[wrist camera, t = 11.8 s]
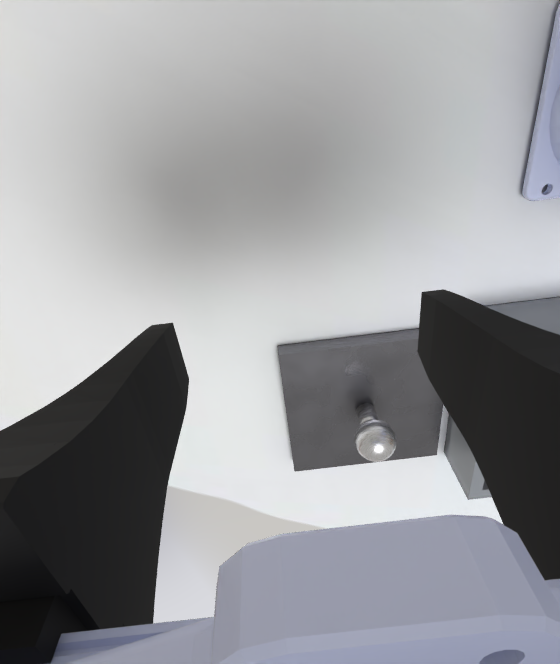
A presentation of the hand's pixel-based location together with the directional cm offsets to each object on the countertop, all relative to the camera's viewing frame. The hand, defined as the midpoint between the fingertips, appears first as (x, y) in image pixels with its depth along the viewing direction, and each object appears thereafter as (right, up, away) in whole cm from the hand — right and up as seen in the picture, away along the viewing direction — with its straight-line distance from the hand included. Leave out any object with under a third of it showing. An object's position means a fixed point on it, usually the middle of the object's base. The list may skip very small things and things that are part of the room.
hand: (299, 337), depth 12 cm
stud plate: (+5, -4, +15) cm, 16 cm away
